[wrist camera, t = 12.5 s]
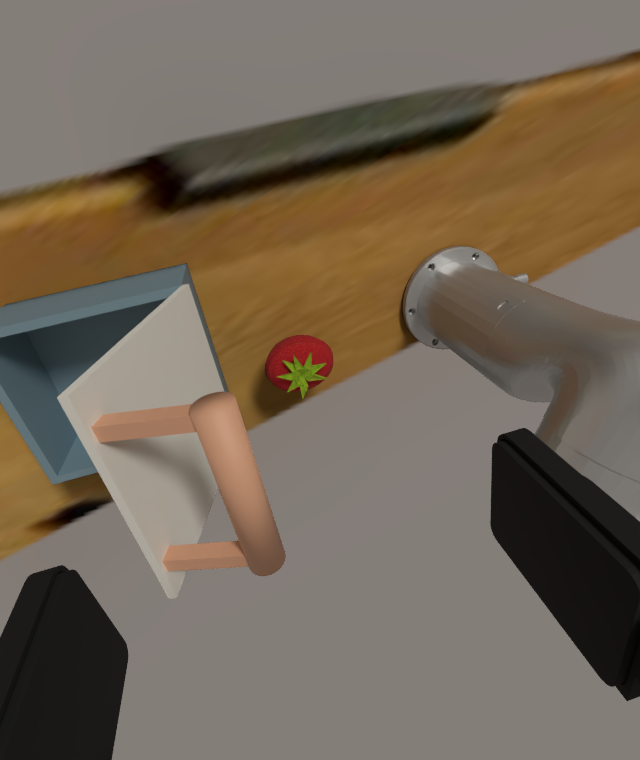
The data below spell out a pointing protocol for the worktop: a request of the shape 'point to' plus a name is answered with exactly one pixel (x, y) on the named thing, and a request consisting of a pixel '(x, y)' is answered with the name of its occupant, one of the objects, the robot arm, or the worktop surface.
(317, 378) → the strawberry
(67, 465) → the carton
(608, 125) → the worktop surface
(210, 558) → the flap
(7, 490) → the worktop surface
